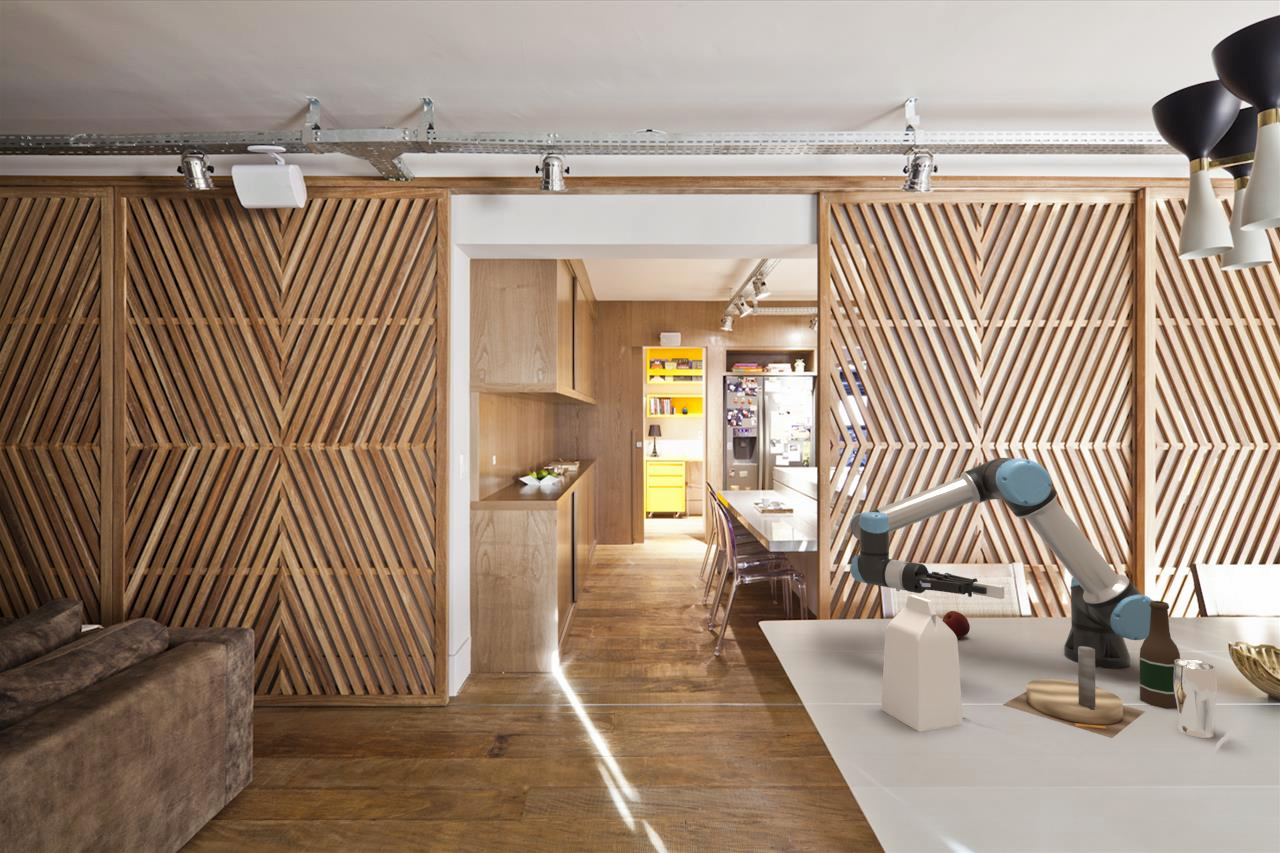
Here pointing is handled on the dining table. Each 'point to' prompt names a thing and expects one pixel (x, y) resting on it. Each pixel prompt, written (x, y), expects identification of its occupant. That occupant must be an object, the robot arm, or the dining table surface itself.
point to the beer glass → (1195, 696)
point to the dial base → (1101, 729)
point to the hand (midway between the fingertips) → (1002, 592)
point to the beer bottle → (1158, 660)
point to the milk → (921, 669)
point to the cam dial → (1076, 695)
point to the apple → (957, 623)
